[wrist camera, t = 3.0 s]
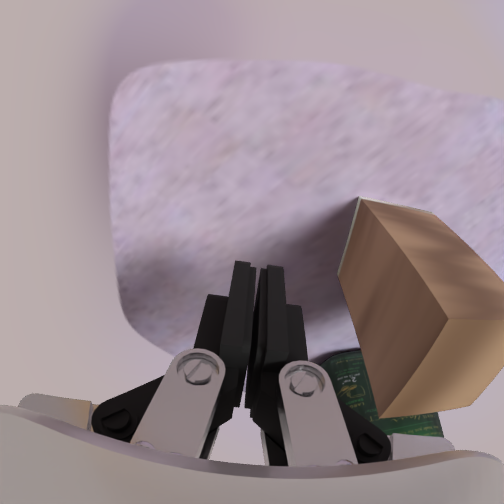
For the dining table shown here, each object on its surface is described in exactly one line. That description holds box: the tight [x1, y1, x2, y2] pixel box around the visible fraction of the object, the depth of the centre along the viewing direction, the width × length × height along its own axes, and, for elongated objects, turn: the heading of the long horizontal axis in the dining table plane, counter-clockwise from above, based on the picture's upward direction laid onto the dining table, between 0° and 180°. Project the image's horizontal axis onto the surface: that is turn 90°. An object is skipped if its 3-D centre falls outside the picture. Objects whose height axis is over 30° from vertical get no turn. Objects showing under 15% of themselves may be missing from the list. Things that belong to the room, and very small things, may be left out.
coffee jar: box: [320, 350, 444, 438], centre depth 14 cm, size 10×8×19 cm
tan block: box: [337, 196, 504, 418], centre depth 12 cm, size 5×5×10 cm
